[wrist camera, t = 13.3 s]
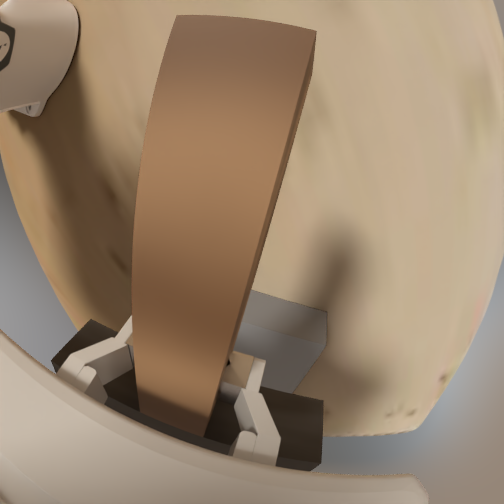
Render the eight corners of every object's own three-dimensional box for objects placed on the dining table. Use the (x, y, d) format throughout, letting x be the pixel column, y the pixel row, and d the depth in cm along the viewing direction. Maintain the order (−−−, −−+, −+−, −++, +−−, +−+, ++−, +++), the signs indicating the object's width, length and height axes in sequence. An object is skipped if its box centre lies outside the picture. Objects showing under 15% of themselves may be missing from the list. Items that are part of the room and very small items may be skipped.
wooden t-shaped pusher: (105, 55, 8) (36, 41, 4) (453, 134, 7) (523, 141, 4) (93, 336, 15) (57, 377, 11) (312, 414, 14) (308, 472, 10)
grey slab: (162, 333, 39) (148, 357, 35) (162, 260, 32) (141, 285, 27) (289, 374, 38) (284, 402, 34) (326, 312, 30) (326, 345, 26)
